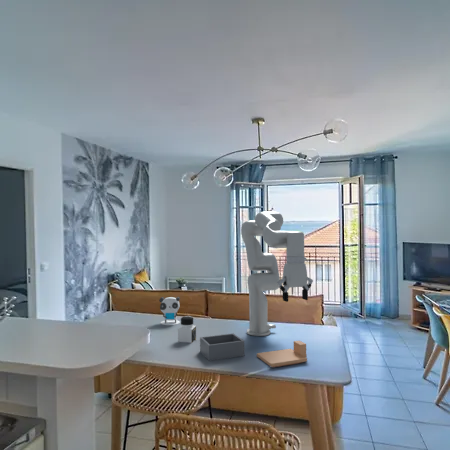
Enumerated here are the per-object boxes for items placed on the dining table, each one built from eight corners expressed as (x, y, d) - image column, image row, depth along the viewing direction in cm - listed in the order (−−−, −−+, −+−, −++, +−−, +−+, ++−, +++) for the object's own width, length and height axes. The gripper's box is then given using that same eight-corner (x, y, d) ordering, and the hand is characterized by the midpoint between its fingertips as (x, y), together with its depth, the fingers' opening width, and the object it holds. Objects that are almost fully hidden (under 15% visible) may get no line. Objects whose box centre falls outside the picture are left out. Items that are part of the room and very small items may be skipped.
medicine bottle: (191, 344, 167) (191, 319, 167) (177, 343, 168) (177, 318, 168) (196, 339, 174) (196, 315, 174) (182, 338, 175) (182, 314, 175)
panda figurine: (158, 325, 201) (158, 299, 201) (161, 320, 212) (161, 295, 212) (178, 325, 201) (179, 299, 201) (181, 320, 212) (181, 295, 212)
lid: (295, 353, 155) (295, 337, 155) (312, 363, 143) (312, 346, 144) (256, 359, 148) (256, 342, 148) (271, 369, 137) (271, 352, 137)
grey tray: (233, 348, 160) (233, 333, 161) (244, 357, 149) (244, 340, 149) (200, 353, 155) (200, 337, 155) (208, 362, 143) (208, 345, 144)
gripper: (307, 259, 157) (307, 297, 157) (273, 260, 150) (273, 300, 150) (317, 260, 150) (317, 300, 150) (282, 261, 143) (282, 303, 143)
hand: (295, 300), depth 150 cm, fingers open, 9 cm apart
